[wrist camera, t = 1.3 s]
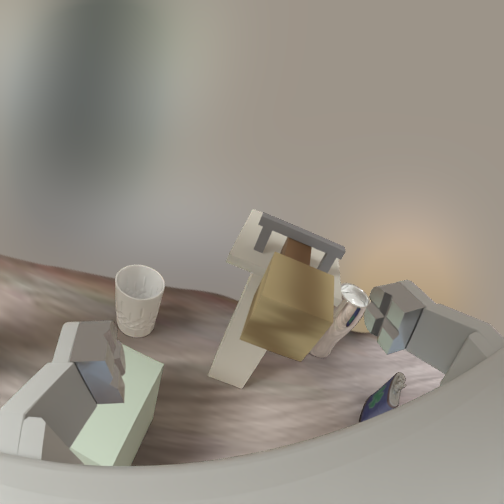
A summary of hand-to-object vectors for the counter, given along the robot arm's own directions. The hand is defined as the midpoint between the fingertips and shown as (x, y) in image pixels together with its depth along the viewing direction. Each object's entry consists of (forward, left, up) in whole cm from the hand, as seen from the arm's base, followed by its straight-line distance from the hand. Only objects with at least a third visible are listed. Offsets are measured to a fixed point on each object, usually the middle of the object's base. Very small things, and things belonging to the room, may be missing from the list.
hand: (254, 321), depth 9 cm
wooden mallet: (+3, +15, -10) cm, 19 cm away
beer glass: (+19, +38, -36) cm, 56 cm away
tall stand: (+3, +24, -36) cm, 43 cm away
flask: (+31, +25, -36) cm, 54 cm away
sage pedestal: (-10, +4, -36) cm, 37 cm away
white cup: (-15, +26, -36) cm, 47 cm away
